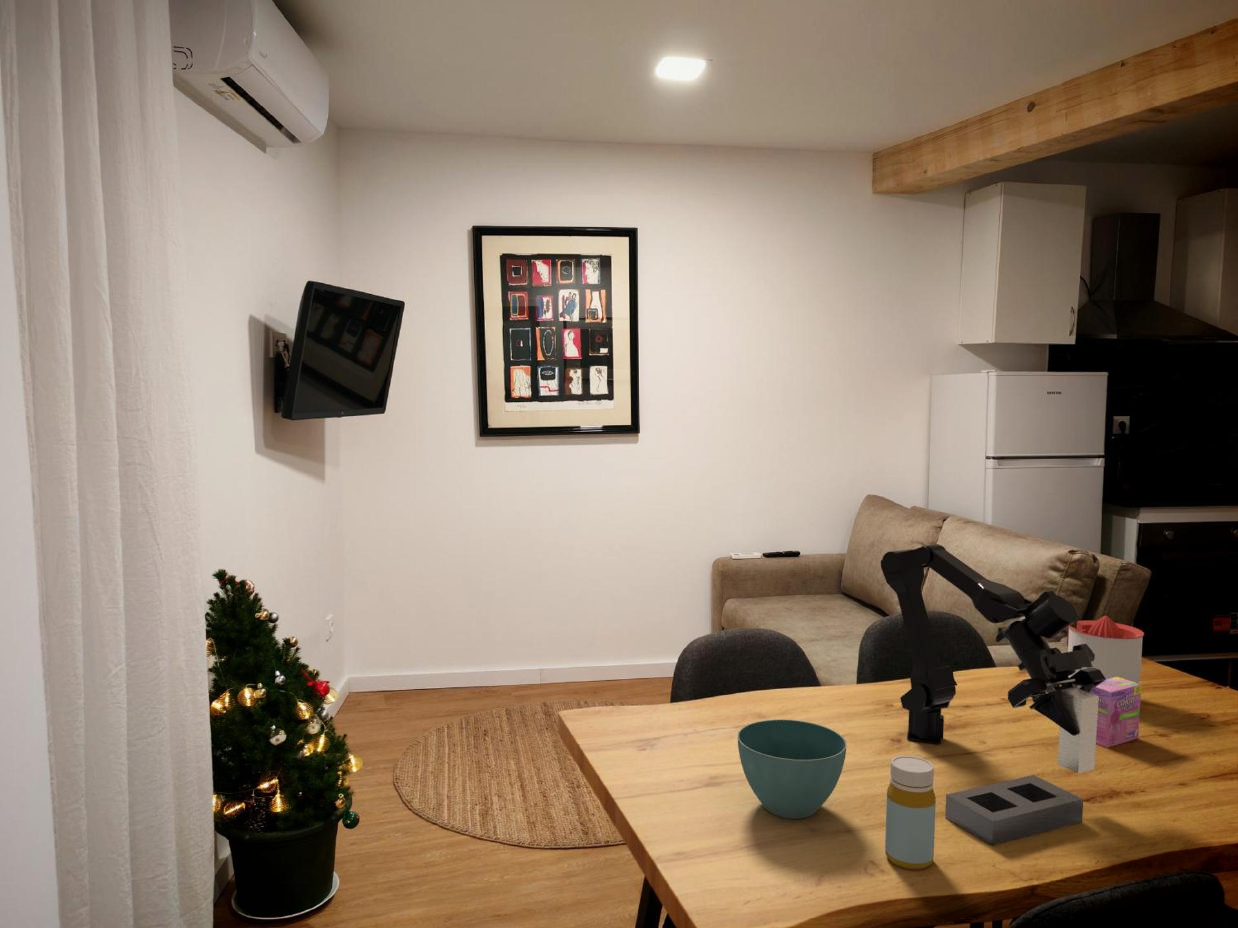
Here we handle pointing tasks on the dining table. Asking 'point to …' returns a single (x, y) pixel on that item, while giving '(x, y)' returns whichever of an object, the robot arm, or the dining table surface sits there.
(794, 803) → the teal bowl
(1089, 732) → the peg
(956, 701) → the dining table surface
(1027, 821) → the grey flat block
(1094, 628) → the citrus juicer
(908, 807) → the bottle
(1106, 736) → the box
